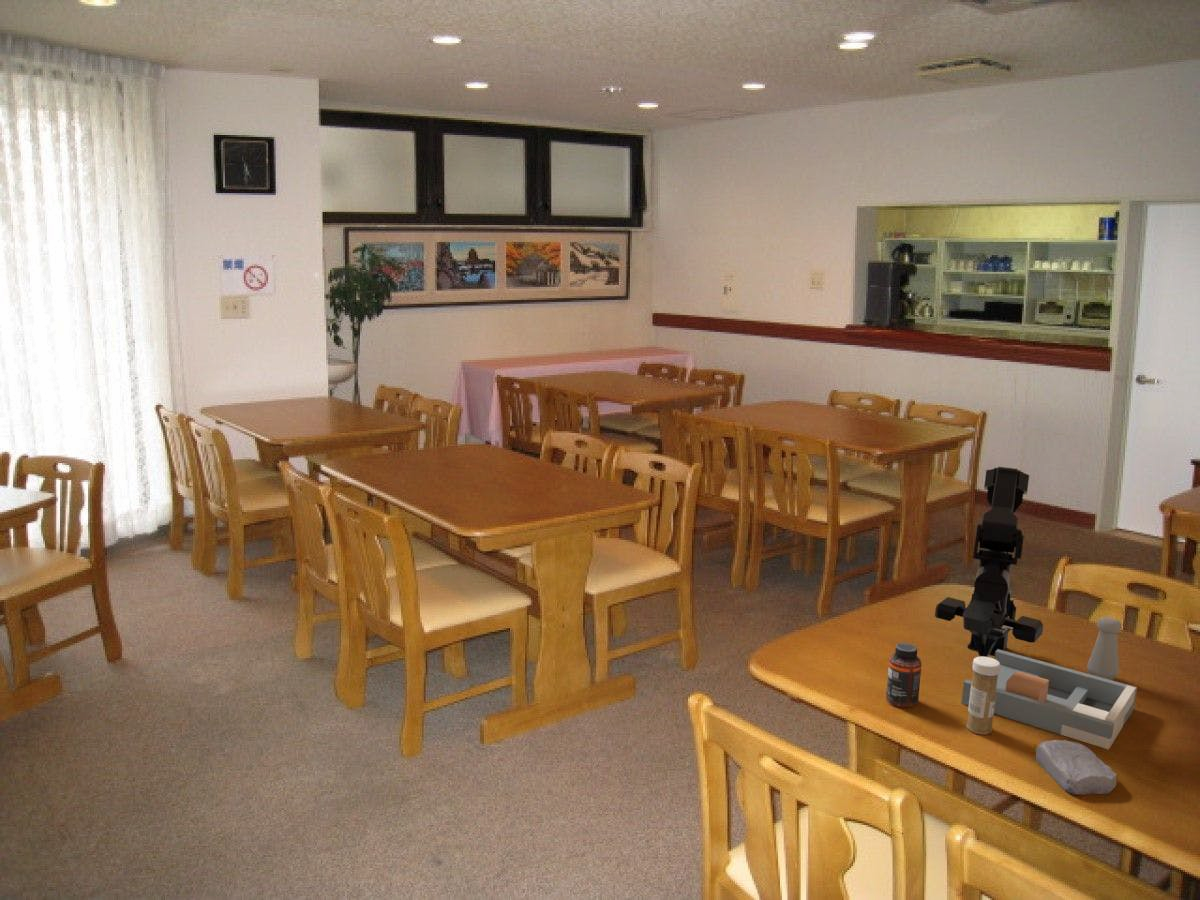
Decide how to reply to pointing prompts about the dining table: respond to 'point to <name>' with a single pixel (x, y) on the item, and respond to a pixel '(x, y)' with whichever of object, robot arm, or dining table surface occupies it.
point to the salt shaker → (1105, 650)
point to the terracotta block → (1028, 686)
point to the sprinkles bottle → (982, 695)
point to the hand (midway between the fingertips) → (983, 660)
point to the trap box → (1063, 700)
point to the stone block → (1075, 767)
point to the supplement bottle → (904, 676)
